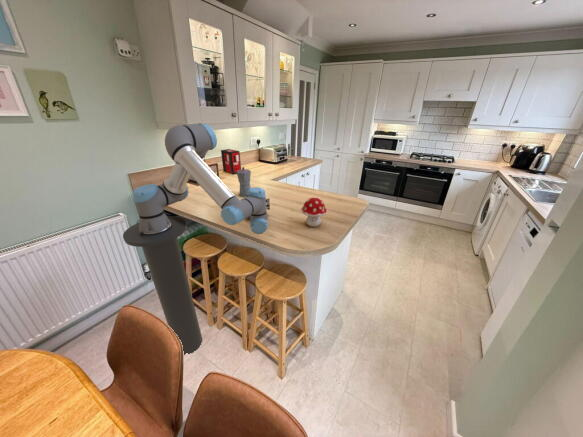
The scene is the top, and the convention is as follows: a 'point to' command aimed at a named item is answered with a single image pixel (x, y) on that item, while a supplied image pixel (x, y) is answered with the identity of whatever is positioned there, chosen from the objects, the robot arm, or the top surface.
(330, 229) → the top surface
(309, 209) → the decorative mushroom
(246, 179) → the moka pot
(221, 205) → the robot arm
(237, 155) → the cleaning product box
